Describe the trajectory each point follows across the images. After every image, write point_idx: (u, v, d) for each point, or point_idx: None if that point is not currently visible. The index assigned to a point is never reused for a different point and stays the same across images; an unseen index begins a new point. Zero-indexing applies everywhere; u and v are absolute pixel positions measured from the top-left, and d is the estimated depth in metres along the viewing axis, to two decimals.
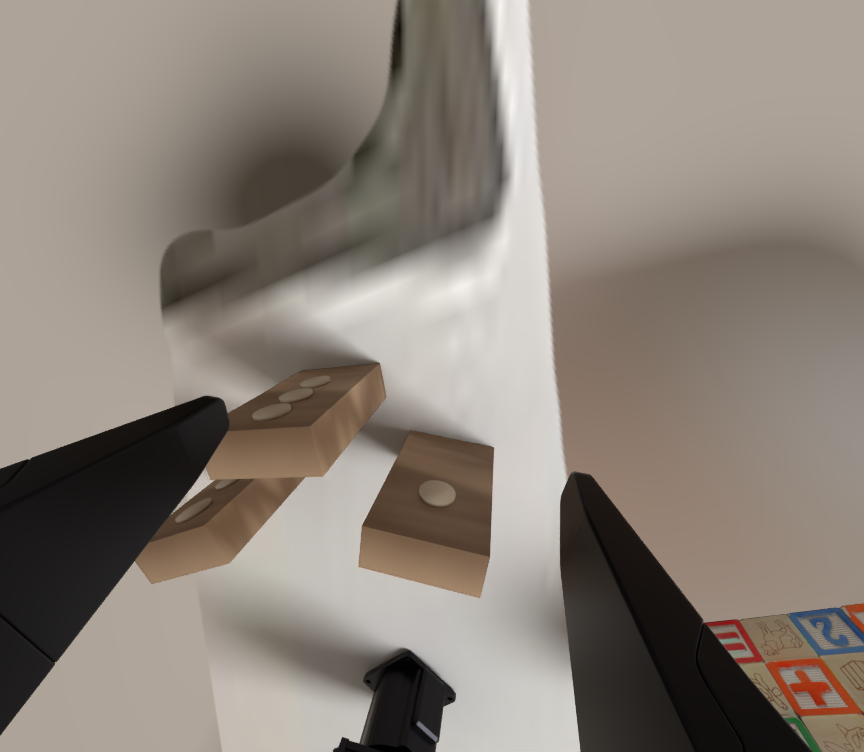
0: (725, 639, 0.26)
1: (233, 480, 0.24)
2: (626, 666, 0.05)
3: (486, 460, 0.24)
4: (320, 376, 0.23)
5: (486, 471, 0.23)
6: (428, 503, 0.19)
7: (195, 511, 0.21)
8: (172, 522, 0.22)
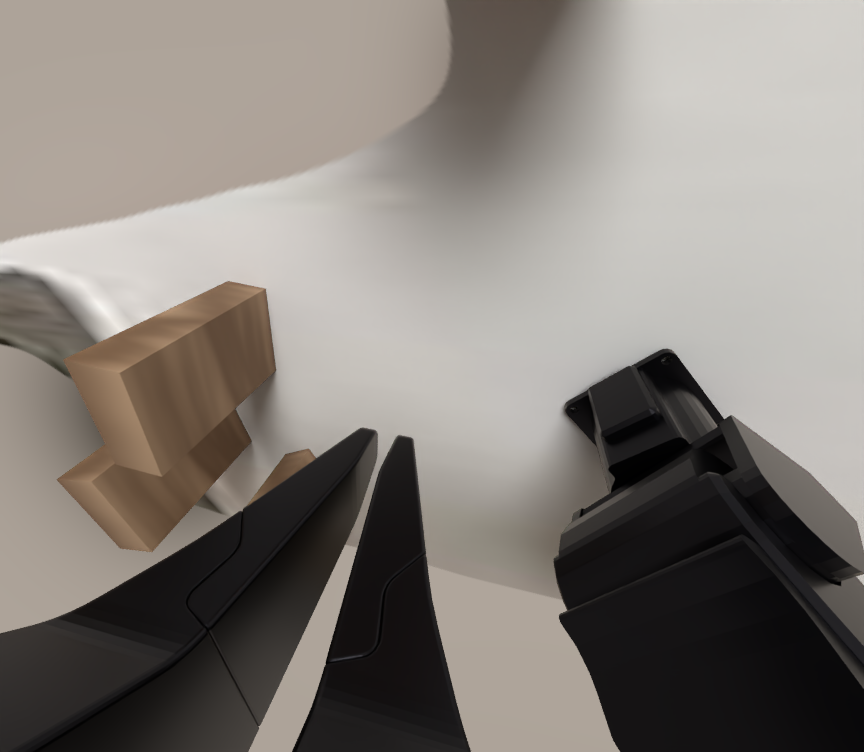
0: None
1: None
2: None
3: None
4: None
5: None
6: None
7: None
8: None
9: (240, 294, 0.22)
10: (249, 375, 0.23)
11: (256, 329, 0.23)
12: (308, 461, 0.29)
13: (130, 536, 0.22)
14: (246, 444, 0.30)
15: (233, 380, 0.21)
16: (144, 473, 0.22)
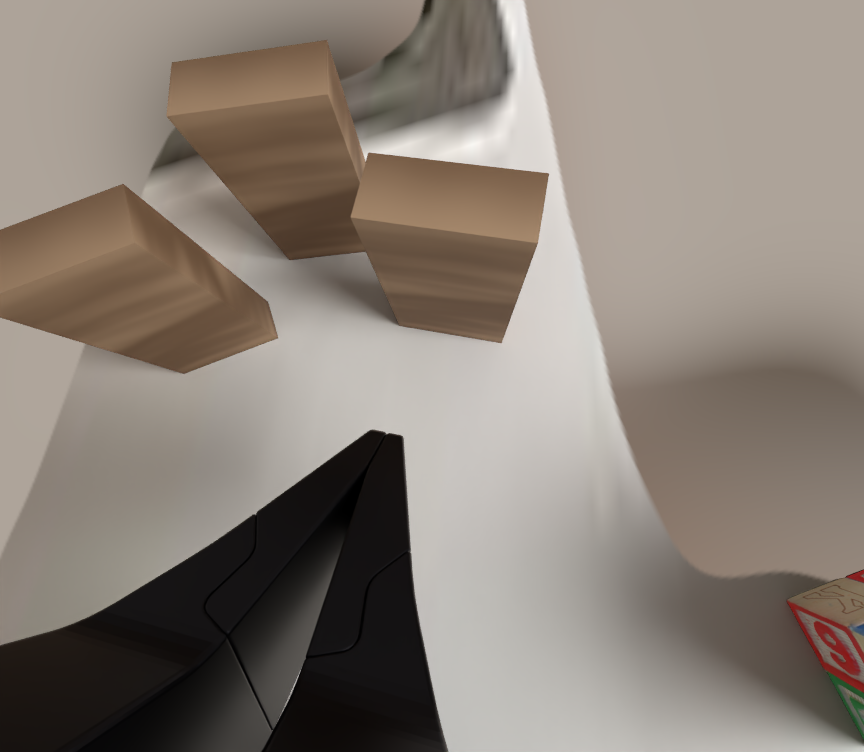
0: None
1: None
2: None
3: None
4: None
5: None
6: None
7: None
8: None
9: None
10: (415, 310, 0.19)
11: (465, 328, 0.20)
12: (261, 337, 0.21)
13: (204, 96, 0.14)
14: (287, 254, 0.23)
15: (423, 301, 0.17)
16: (306, 151, 0.15)
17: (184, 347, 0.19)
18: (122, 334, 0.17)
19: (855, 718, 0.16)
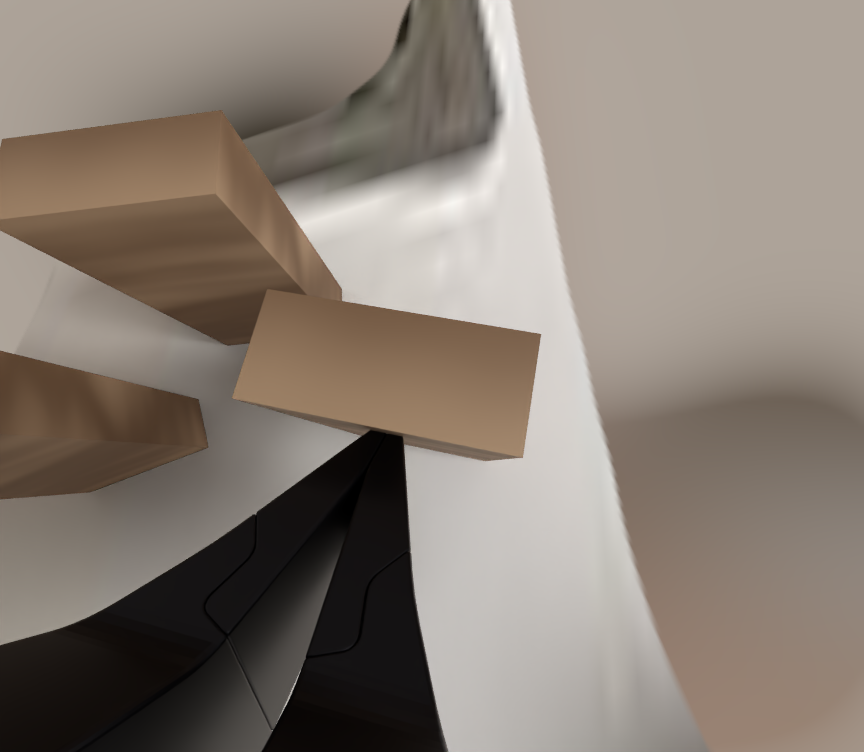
0: None
1: None
2: None
3: None
4: None
5: None
6: None
7: None
8: None
9: None
10: None
11: (437, 450, 0.16)
12: (183, 451, 0.17)
13: (40, 192, 0.09)
14: (223, 341, 0.18)
15: None
16: (208, 252, 0.11)
17: (74, 478, 0.15)
18: None
19: None
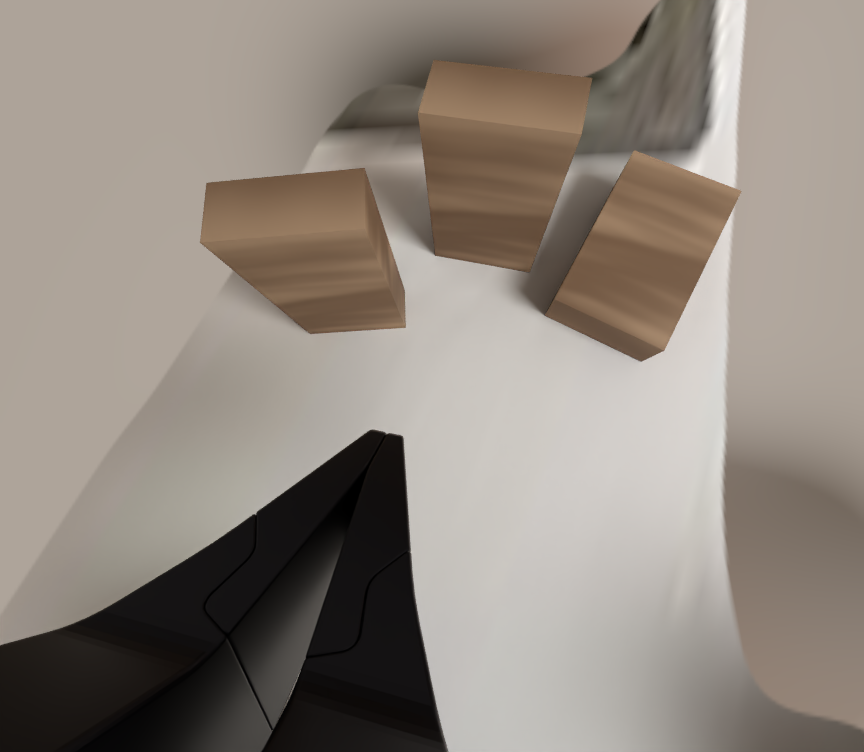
0: None
1: None
2: None
3: None
4: None
5: None
6: None
7: None
8: None
9: None
10: (600, 266, 0.20)
11: (635, 308, 0.19)
12: (392, 323, 0.22)
13: (458, 103, 0.14)
14: (437, 250, 0.23)
15: (621, 248, 0.20)
16: (523, 174, 0.15)
17: (328, 314, 0.20)
18: (292, 292, 0.17)
19: None
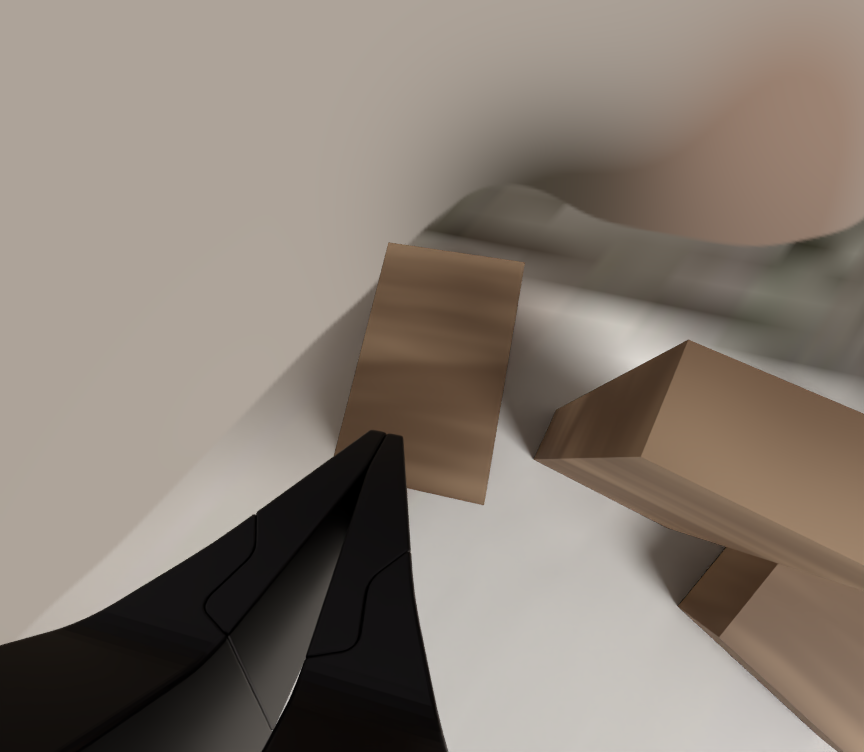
0: None
1: None
2: None
3: None
4: None
5: None
6: None
7: None
8: None
9: None
10: (805, 604, 0.12)
11: (855, 701, 0.12)
12: (470, 479, 0.14)
13: (731, 461, 0.07)
14: (539, 461, 0.16)
15: None
16: (783, 551, 0.08)
17: (398, 412, 0.15)
18: (398, 340, 0.15)
19: None
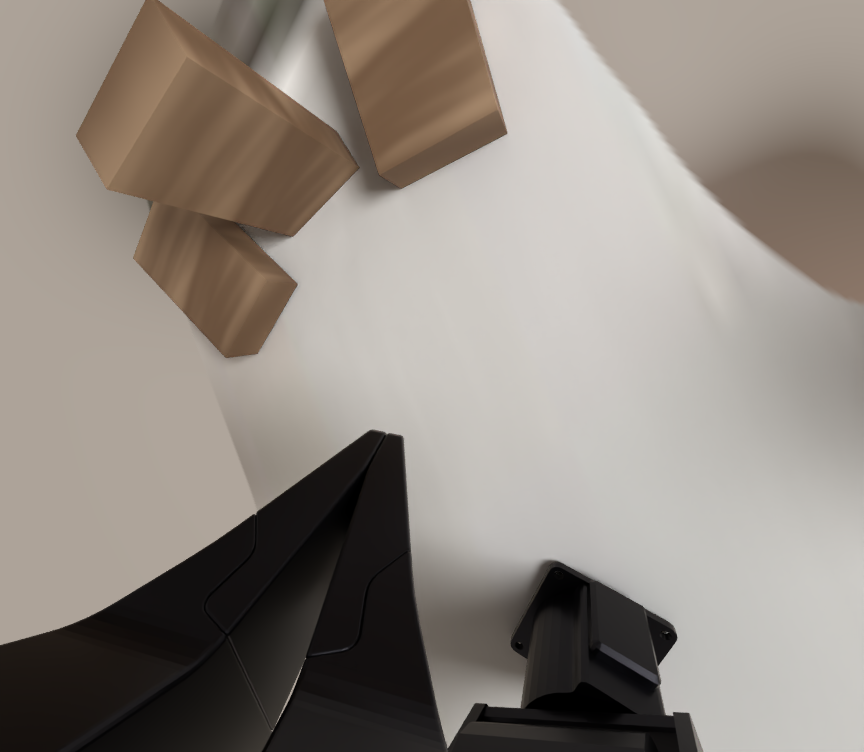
0: None
1: None
2: None
3: None
4: None
5: None
6: None
7: None
8: None
9: (491, 83, 0.16)
10: (383, 102, 0.17)
11: (442, 102, 0.16)
12: (253, 281, 0.21)
13: (114, 147, 0.14)
14: (287, 233, 0.23)
15: (383, 63, 0.17)
16: (220, 129, 0.14)
17: (212, 303, 0.23)
18: (179, 282, 0.24)
19: None
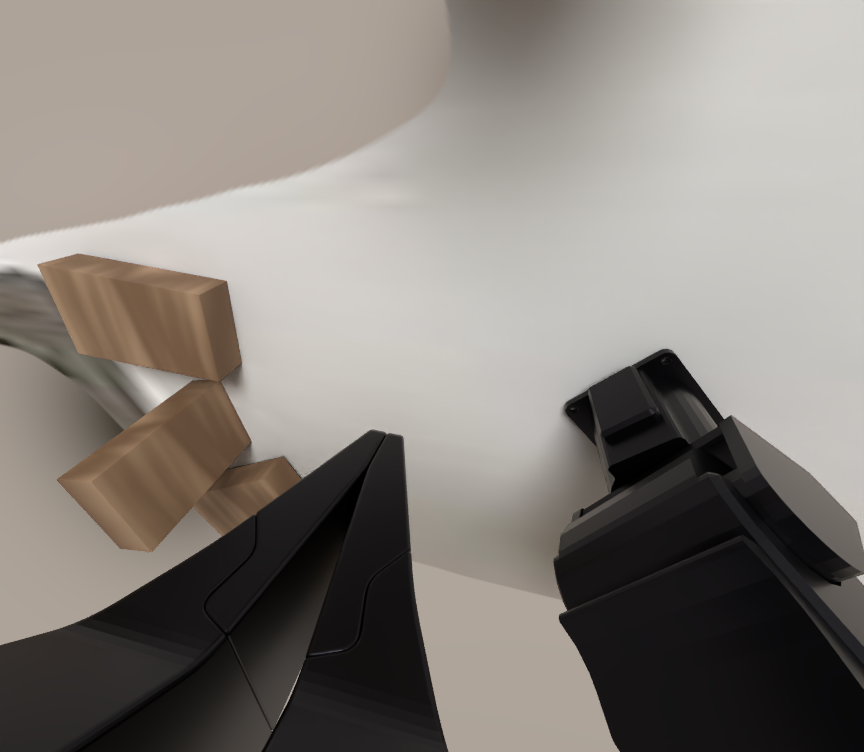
0: None
1: None
2: None
3: None
4: None
5: None
6: None
7: None
8: None
9: (184, 286, 0.21)
10: (174, 356, 0.24)
11: (184, 324, 0.22)
12: (263, 486, 0.29)
13: (130, 536, 0.22)
14: (246, 444, 0.30)
15: (151, 345, 0.23)
16: (144, 473, 0.22)
17: None
18: None
19: None
